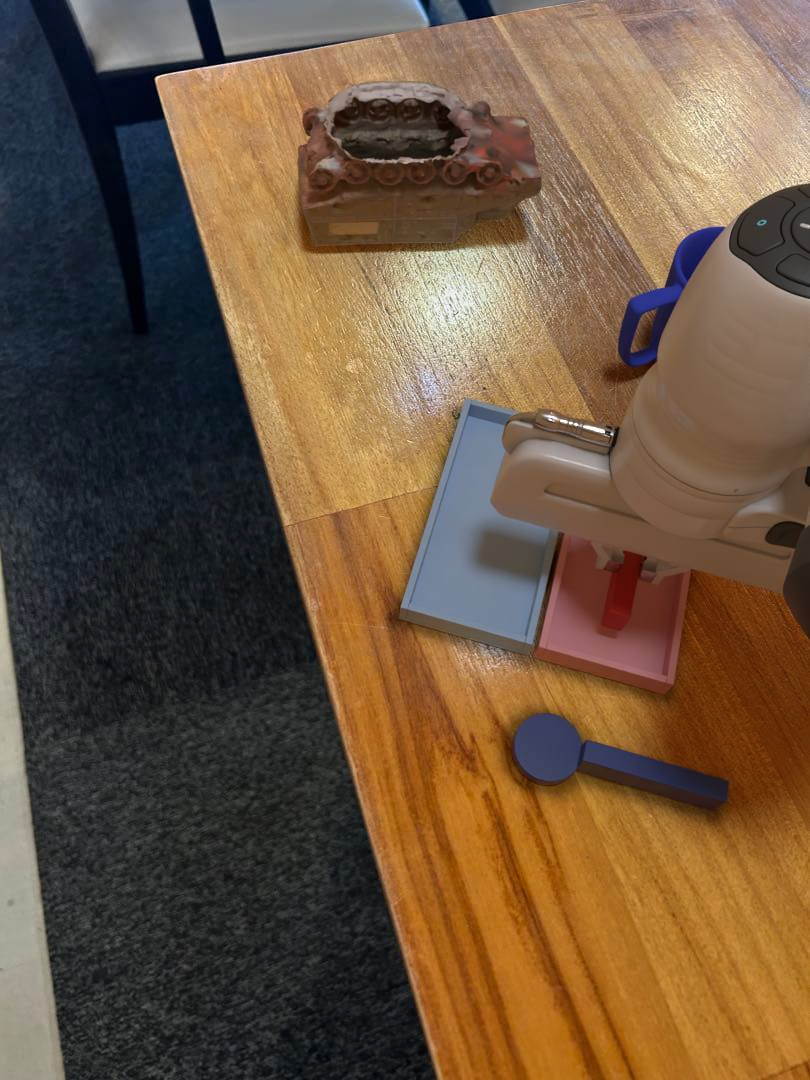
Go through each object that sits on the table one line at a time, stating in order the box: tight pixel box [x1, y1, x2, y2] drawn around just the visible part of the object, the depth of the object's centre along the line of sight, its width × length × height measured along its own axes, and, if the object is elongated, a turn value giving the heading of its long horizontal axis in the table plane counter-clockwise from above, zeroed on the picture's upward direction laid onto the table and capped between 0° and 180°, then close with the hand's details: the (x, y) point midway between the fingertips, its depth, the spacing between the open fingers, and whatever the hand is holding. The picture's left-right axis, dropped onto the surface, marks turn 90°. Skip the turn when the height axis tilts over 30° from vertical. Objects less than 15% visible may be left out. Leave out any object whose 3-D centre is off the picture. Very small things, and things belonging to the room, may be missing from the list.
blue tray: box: [398, 397, 560, 656], centre depth 68 cm, size 9×18×2 cm, turn 164°
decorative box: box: [296, 79, 543, 248], centre depth 79 cm, size 13×20×10 cm, turn 89°
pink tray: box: [533, 533, 692, 696], centre depth 67 cm, size 9×18×2 cm, turn 164°
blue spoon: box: [510, 712, 730, 812], centre depth 60 cm, size 13×4×2 cm, turn 74°
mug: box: [617, 226, 727, 368], centre depth 72 cm, size 8×12×10 cm
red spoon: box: [601, 551, 642, 631], centre depth 65 cm, size 13×4×2 cm, turn 164°
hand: (627, 567), depth 63 cm, fingers closed on red spoon, 1 cm apart
